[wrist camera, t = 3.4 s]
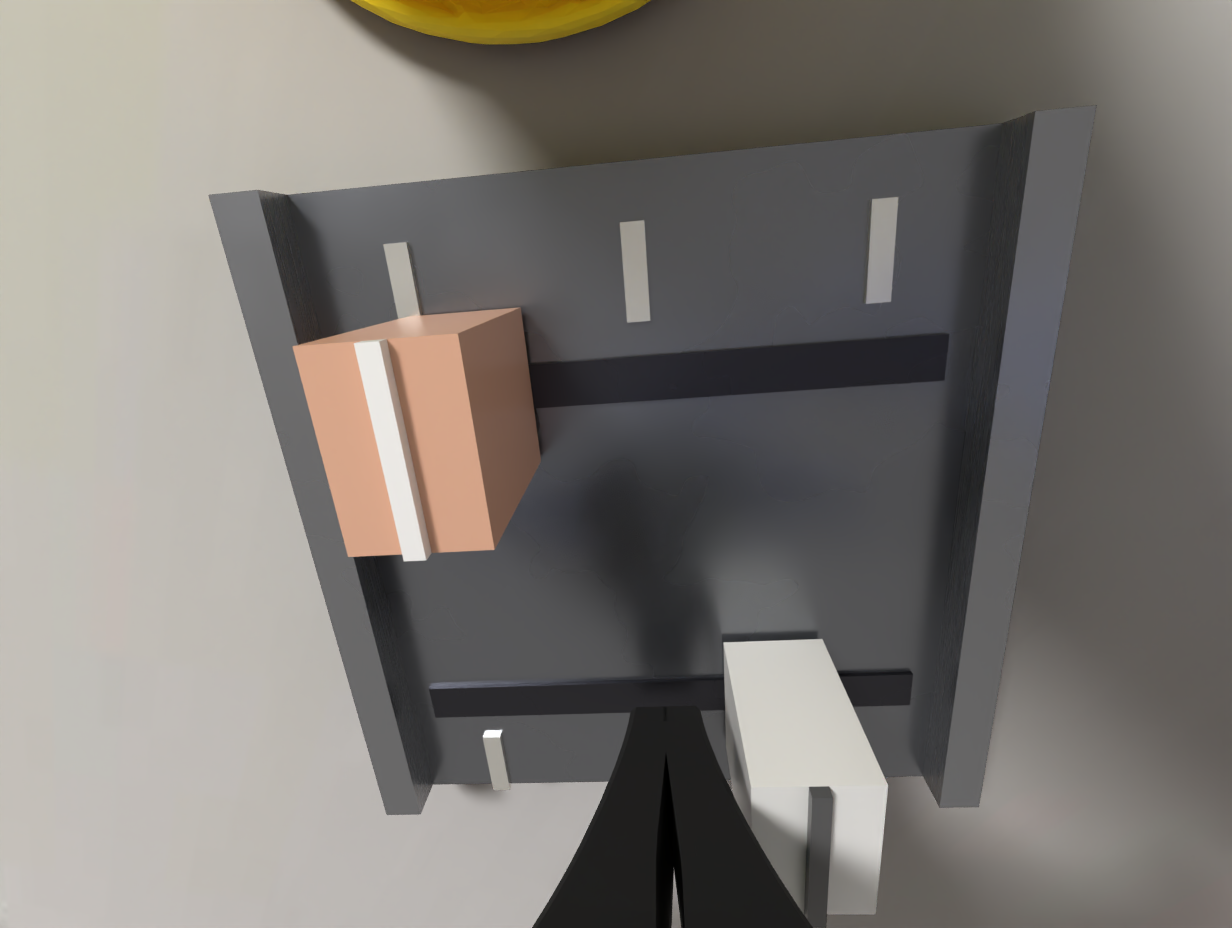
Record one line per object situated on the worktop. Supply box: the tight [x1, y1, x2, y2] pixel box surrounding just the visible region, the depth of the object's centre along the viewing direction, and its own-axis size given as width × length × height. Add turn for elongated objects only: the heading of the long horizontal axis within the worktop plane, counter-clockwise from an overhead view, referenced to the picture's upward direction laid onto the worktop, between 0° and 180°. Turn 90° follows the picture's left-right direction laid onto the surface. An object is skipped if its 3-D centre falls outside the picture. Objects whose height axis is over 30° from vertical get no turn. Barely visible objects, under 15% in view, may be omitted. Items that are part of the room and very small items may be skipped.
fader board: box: [209, 105, 1096, 815], centre depth 12 cm, size 13×13×2 cm
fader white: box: [723, 639, 888, 928], centre depth 11 cm, size 2×3×4 cm
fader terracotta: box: [292, 307, 541, 561], centre depth 9 cm, size 2×3×4 cm
